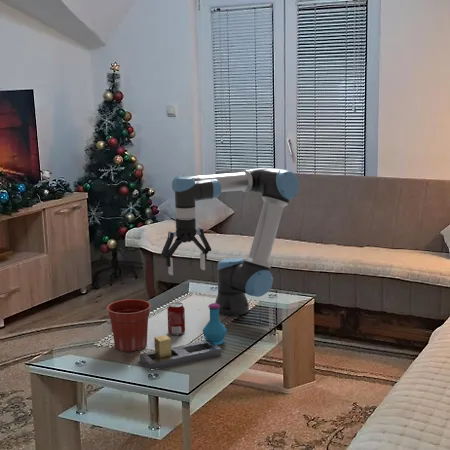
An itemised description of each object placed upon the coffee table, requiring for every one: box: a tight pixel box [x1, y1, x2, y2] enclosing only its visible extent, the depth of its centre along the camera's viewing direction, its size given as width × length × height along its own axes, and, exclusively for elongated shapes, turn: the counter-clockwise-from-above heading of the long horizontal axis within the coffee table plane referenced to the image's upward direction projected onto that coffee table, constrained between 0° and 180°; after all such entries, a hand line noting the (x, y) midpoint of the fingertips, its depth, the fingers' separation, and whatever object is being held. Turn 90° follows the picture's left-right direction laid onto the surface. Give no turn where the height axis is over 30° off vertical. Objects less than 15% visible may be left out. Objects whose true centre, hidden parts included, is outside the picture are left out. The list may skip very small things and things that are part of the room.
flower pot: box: [106, 298, 152, 353], centre depth 267 cm, size 16×16×16 cm
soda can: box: [166, 301, 186, 336], centre depth 281 cm, size 7×7×12 cm
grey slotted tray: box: [139, 339, 222, 371], centre depth 257 cm, size 28×10×2 cm, turn 118°
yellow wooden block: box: [154, 334, 173, 361], centre depth 253 cm, size 4×4×9 cm
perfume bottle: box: [202, 302, 228, 346], centre depth 271 cm, size 9×9×15 cm
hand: (186, 272), depth 271 cm, fingers open, 13 cm apart
